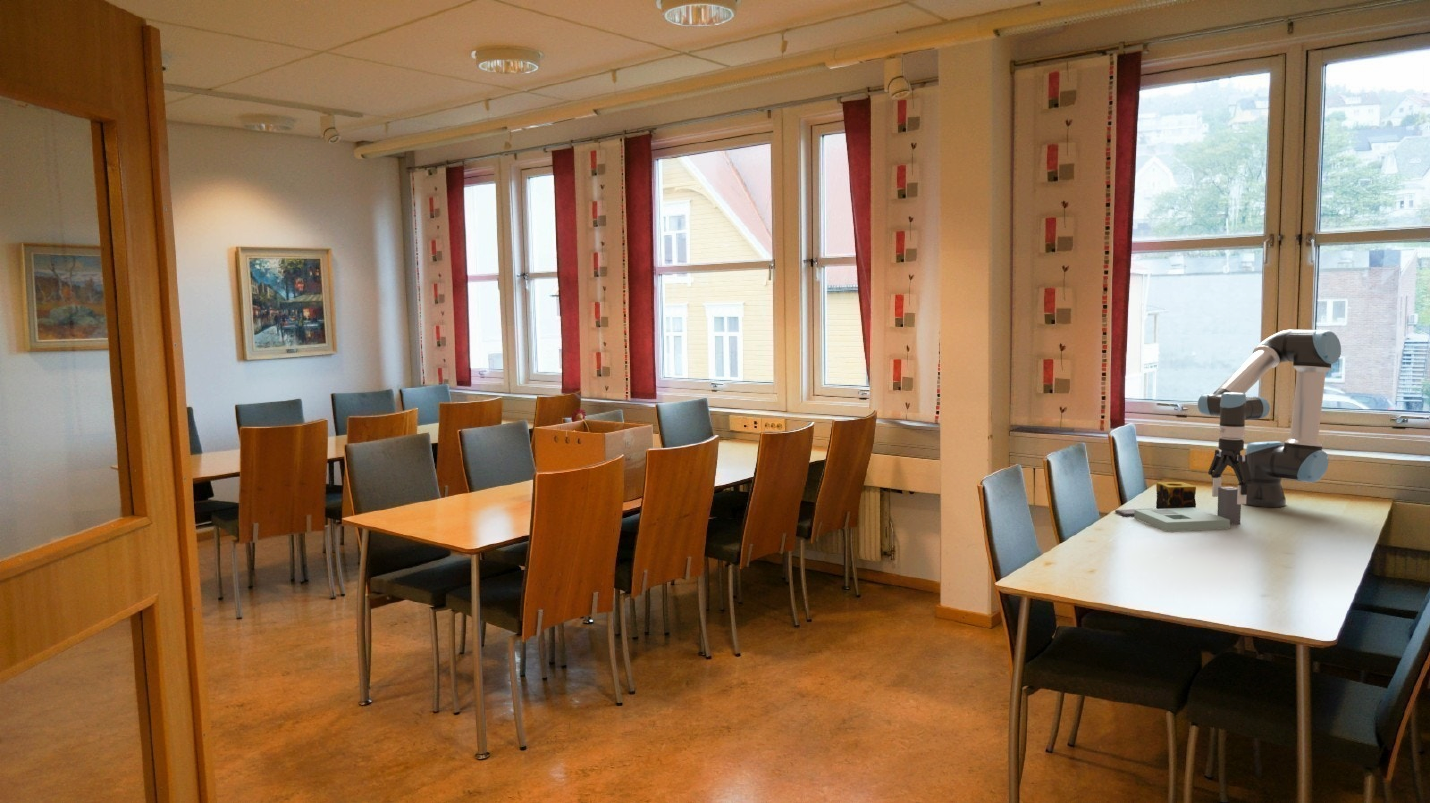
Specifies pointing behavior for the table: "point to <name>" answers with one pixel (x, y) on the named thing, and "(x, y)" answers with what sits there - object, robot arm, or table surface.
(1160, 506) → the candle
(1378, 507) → the table surface
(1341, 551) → the table surface
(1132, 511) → the phone
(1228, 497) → the grey rectangular block
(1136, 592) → the table surface
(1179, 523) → the outlet board
